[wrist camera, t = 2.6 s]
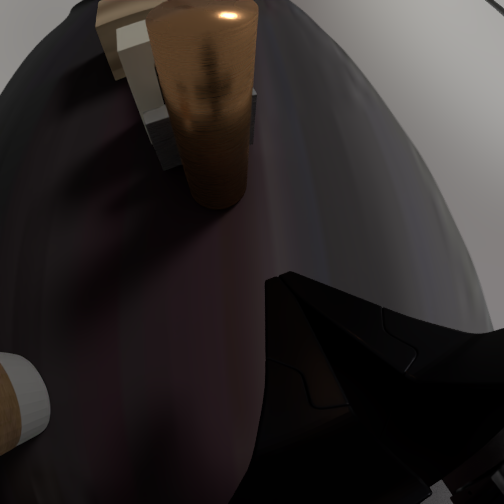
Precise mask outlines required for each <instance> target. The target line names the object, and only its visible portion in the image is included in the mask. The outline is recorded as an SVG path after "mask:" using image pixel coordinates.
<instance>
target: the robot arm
mask: <svg viewBox="0 0 504 504" xmlns="http://www.w3.org/2000/svg"><path fill="white" fill-rule="evenodd" d="M265 352H266V361H265V389H264V397H263V404H262V410H261V416H260V421H259V426H258V432H257V437H256V442H255V447H254V451H253V455H252V459H251V462H250V465H249V467H248V470H247V472H246V473H245V475H244V477H243V479H242V481H241V482H240V484H239V486H238V488H237V489H236V491H235V493H234V495H233V496H232V498H231V500H230V502H229V503H228V504H420V503H421V502H422V501H424V500H425V499H427V498H428V497H429V496H431V495H432V491H431V489H430V486H432V485H433V484H435V483H436V482H438V481H439V480H441V479H442V480H443V482H444V483H445V485H446V486H447V488H448V489H449V491H450V492H451V493H452V495H453V496H451V497H450V499H451V501H452V502H453V504H504V328H503V329H499V330H496V331H492V332H488V333H482V334H474V333H467V332H462V331H458V330H455V329H451V328H447V327H444V326H440V325H436V324H432V323H429V322H425V321H422V320H419V319H415V318H412V317H409V316H406V315H403V314H400V313H398V312H395V311H392V310H390V309H387V308H385V307H383V308H382V307H381V306H379V305H377V304H374V303H371V302H369V301H366V300H364V299H361V298H359V297H356V296H353V295H351V294H348V293H346V292H343V291H341V290H338V289H336V288H333V287H330V286H328V285H325V284H323V283H320V282H318V281H315V280H313V279H310V278H307V277H305V276H302V275H300V274H297V273H295V272H292V271H289V272H286V273H284V274H281V275H279V277H273V278H270V279H268V280H266V281H265Z"/></svg>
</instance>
